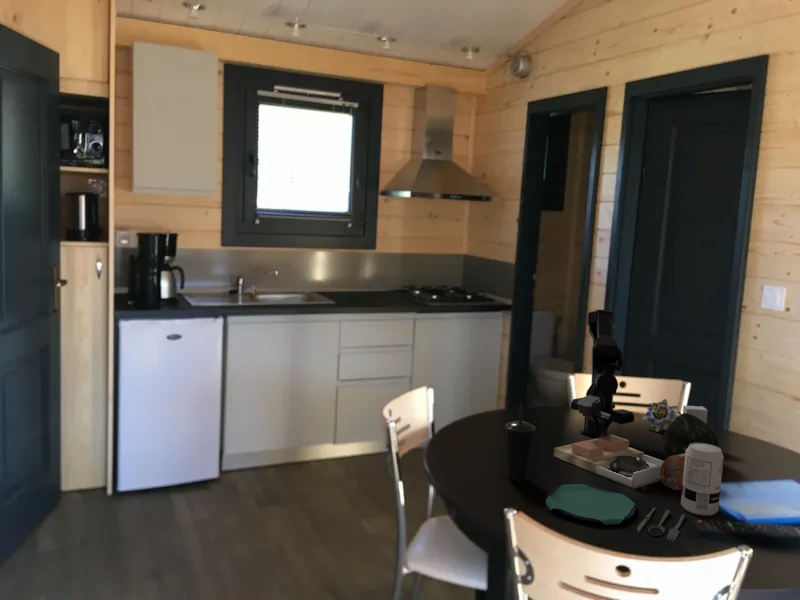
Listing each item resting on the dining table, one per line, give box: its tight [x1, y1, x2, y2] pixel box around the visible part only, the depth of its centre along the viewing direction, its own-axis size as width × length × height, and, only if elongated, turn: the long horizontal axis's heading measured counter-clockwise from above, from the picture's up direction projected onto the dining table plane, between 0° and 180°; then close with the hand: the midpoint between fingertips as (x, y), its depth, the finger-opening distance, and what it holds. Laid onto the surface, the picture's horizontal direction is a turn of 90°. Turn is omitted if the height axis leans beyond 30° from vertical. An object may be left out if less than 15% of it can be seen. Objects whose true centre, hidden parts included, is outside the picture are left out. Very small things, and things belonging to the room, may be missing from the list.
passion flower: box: [640, 398, 682, 433], centre depth 231 cm, size 11×11×12 cm
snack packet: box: [660, 453, 685, 491], centre depth 182 cm, size 15×3×8 cm, turn 117°
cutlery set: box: [545, 483, 686, 542], centre depth 164 cm, size 20×30×2 cm, turn 57°
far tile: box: [598, 434, 630, 452], centre depth 203 cm, size 6×6×2 cm
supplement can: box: [680, 443, 725, 516], centre depth 167 cm, size 8×8×15 cm
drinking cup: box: [504, 401, 536, 482], centre depth 182 cm, size 8×8×20 cm
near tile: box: [571, 440, 604, 459], centre depth 197 cm, size 6×6×2 cm
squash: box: [662, 412, 720, 458], centre depth 200 cm, size 14×15×15 cm
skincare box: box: [682, 405, 708, 424], centre depth 215 cm, size 6×4×12 cm
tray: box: [595, 453, 665, 490], centre depth 190 cm, size 12×20×4 cm, turn 125°
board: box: [553, 438, 645, 474], centre depth 201 cm, size 15×20×2 cm
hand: (599, 439), depth 207 cm, fingers closed
